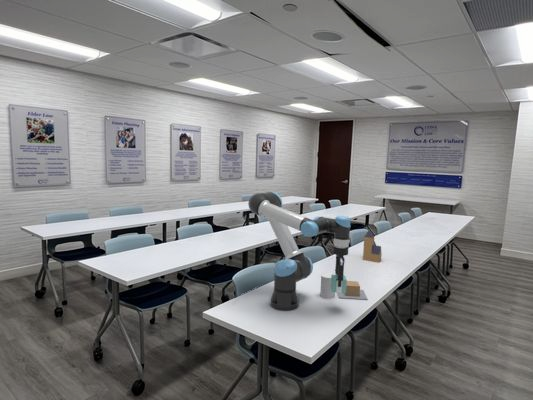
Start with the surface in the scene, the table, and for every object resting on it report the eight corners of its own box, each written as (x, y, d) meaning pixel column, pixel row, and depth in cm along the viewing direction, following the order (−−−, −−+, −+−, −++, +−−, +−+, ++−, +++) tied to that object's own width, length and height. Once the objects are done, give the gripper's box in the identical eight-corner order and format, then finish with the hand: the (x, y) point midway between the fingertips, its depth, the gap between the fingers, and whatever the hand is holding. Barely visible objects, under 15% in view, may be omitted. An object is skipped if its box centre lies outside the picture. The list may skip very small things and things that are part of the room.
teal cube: (331, 292, 173) (332, 279, 172) (330, 287, 180) (331, 274, 179) (345, 293, 172) (346, 280, 172) (344, 288, 179) (344, 275, 178)
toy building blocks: (362, 260, 269) (364, 228, 266) (369, 254, 284) (371, 225, 282) (378, 262, 262) (380, 231, 259) (385, 257, 278) (386, 227, 275)
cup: (324, 291, 201) (325, 272, 200) (337, 295, 196) (338, 275, 194) (317, 295, 195) (318, 275, 193) (330, 299, 190) (331, 279, 188)
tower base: (338, 298, 192) (339, 287, 191) (336, 289, 206) (336, 278, 205) (367, 300, 190) (368, 288, 189) (363, 290, 204) (363, 280, 203)
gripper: (351, 252, 163) (347, 297, 166) (345, 242, 183) (342, 282, 186) (335, 251, 164) (332, 296, 167) (331, 241, 183) (329, 281, 186)
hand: (337, 289), depth 176 cm, fingers closed on teal cube, 7 cm apart
